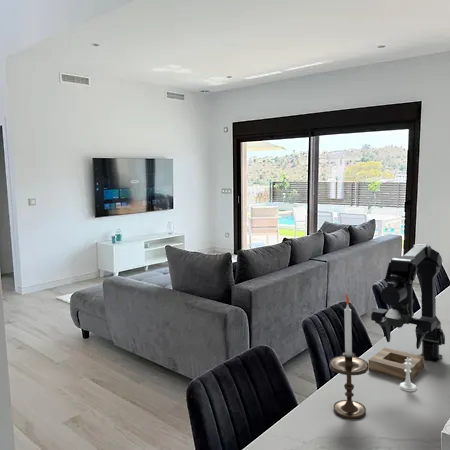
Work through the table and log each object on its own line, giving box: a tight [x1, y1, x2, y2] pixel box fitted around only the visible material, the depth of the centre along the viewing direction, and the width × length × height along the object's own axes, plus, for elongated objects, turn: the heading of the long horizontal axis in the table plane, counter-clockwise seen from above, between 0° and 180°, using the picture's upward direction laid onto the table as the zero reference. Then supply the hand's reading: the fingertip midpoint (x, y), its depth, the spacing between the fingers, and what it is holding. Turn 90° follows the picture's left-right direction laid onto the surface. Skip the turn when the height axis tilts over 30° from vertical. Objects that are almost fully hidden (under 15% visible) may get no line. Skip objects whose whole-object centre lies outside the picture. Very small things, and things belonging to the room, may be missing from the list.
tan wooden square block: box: [367, 346, 425, 382], centre depth 149 cm, size 14×14×4 cm
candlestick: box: [329, 293, 369, 420], centre depth 122 cm, size 11×11×35 cm
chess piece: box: [399, 357, 417, 392], centre depth 135 cm, size 5×5×10 cm
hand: (402, 345), depth 135 cm, fingers open, 9 cm apart
